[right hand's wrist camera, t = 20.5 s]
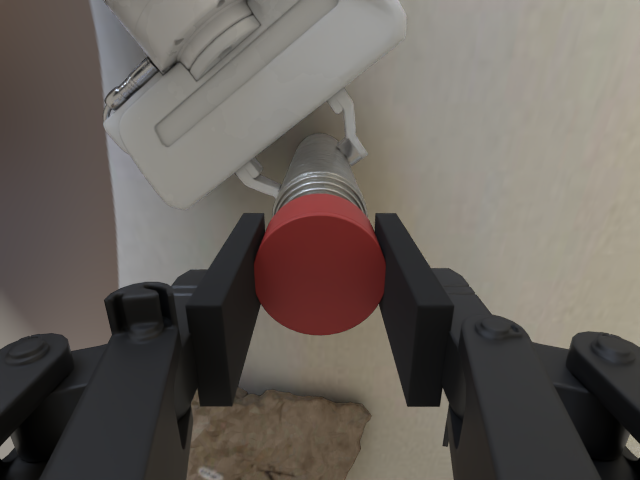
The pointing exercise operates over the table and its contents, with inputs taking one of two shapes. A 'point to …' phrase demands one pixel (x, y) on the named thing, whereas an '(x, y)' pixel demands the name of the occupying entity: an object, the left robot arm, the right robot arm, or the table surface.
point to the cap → (319, 266)
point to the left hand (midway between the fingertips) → (327, 182)
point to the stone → (275, 438)
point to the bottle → (319, 173)
